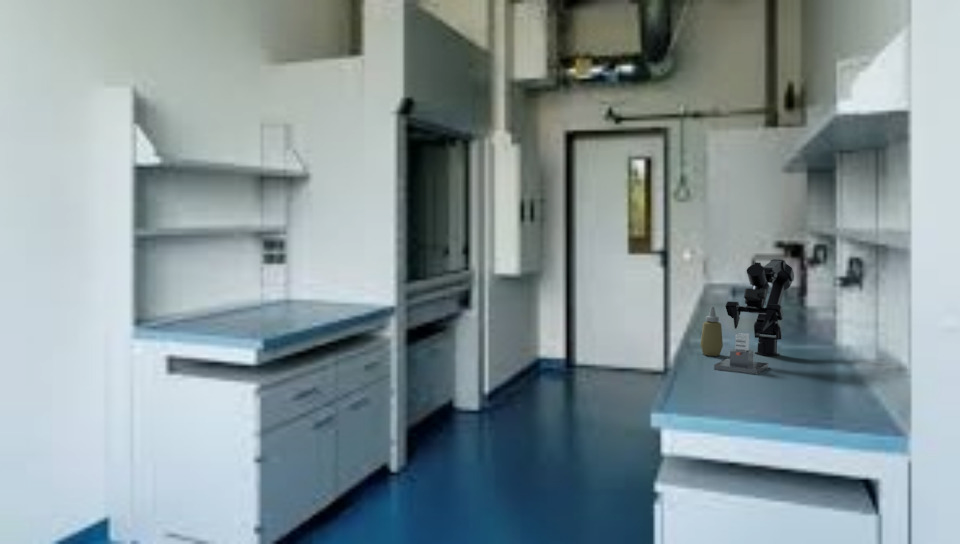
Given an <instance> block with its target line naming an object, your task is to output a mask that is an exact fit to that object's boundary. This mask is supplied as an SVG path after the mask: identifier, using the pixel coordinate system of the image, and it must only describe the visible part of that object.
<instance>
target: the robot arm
mask: <svg viewBox="0 0 960 544" xmlns="http://www.w3.org/2000/svg"><path fill="white" fill-rule="evenodd" d="M793 269H794V268H793V267H792V266H791V265H789V264H787V262H786V260H784V259H782V258H781V259H779V258H777V259H776V258H775V259H773V258H772V259H770V261H769V262H768V263H767V264H765V265H762V263H761V262H756V261H755V262H754V264H751V265H750V266H748V268H747V269H746V274H747V277H748V278H747V279H748V281H749V284H750V285H751V288H745V289H744V292H743V299H744V304H745V305H740V303H739V301H732V300H731V301H729V300H728V301H727V302H725V309H726V313H727V316H728V317H730V318H731V319H733V325H734V326H733V327H734V330H735V329H737V328H738V326H739V321H740V320H741V319H740V318H741V317H740V315H741V312H742V313H750V314H758V315H757V318H756V320H755V322H754V325H753V330H754V338H755V339H757V338H758V342H757V351H754V354H756V355H760V356H765V357H772V356H773V357H774V356H780V355H781V353H780V352H779V353H778V352H777V350H778V348H777V347H778V341H779V340H783V339H782V338H783V336H782V329H781V327H780V326H781V325H780V323H779V321H782V320H783V317H784V311H783V306H782V305H781V304H782V300H783V296H784V294H785V291H786V290H788V289H789V288H790V287H791V286H792V283H793V282H794V280H795V273H794V270H793ZM770 284H771V285H770ZM770 286H771V289H770ZM769 290H770V291H769ZM768 294H769V296H768ZM767 298H768V300H767Z"/></svg>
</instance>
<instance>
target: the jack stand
mask: <svg viewBox="0 0 960 544" xmlns="http://www.w3.org/2000/svg"><path fill="white" fill-rule="evenodd" d="M729 352H730V353H729V358H726V359H724V360H721V361H719V362H717V363H715V364H714V365H713V369H714V370H716V369H717V370H718V371H725V372H726V371H727V372H734V373H741V374H743V373H744V374H750V375H758V374H760V373H762V372H763V371H765V370H767V369H768V368H769V363H768V362H767V363H766V362H759V361H754V350H751V349H749V352H747V353H746V352H737V351H735V348H734V349H732V350H730V351H729Z"/></svg>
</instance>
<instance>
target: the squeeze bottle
mask: <svg viewBox="0 0 960 544" xmlns="http://www.w3.org/2000/svg"><path fill="white" fill-rule="evenodd" d="M719 321H720V317H719V316H717V315H716V309H715V306H711V307H710V310H709V313H708V315H707V316H705V321H704V322H702V329H701V330H702V331H701V336H700V344H699V345H700V348H701V351H702V354H703V355H704V356H709V357H717V356H720V354H721V351H722V349H723V347H724V345H723V332H722V331H723V329H722V324H721V323H720V322H719Z"/></svg>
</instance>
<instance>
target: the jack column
mask: <svg viewBox="0 0 960 544" xmlns="http://www.w3.org/2000/svg"><path fill="white" fill-rule="evenodd" d="M734 341H735V342H734V349H735V351H737V352H746V353H747V352H749V350H750V333H744V332H738V333H735V339H734Z"/></svg>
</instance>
